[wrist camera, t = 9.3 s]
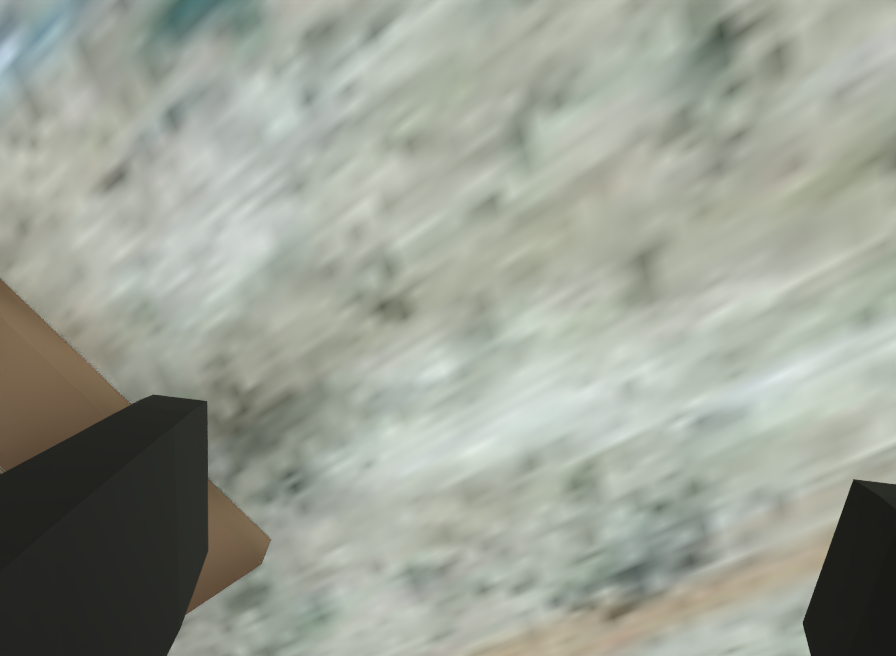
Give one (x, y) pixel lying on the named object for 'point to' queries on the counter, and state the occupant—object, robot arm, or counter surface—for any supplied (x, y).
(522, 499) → the counter surface
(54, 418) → the walnut board
